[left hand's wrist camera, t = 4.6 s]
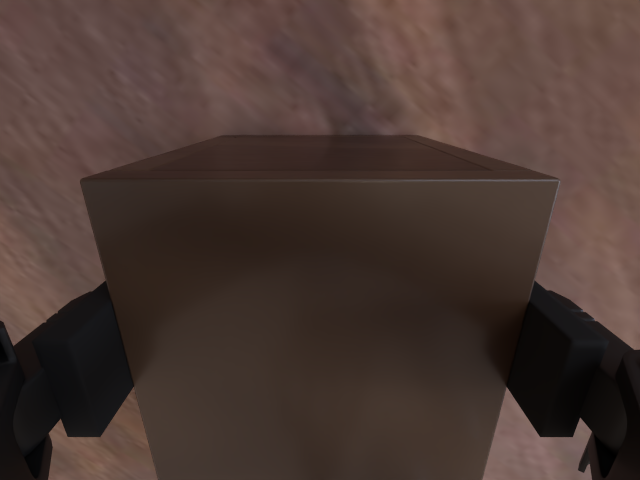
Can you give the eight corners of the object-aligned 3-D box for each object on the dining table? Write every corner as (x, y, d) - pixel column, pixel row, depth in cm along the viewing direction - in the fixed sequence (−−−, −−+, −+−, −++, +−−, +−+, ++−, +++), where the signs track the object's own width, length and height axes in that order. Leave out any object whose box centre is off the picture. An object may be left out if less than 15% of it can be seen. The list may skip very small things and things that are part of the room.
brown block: (389, 427, 25) (437, 652, 15) (251, 427, 25) (202, 652, 15) (419, 135, 17) (563, 179, 7) (220, 135, 17) (77, 178, 7)
